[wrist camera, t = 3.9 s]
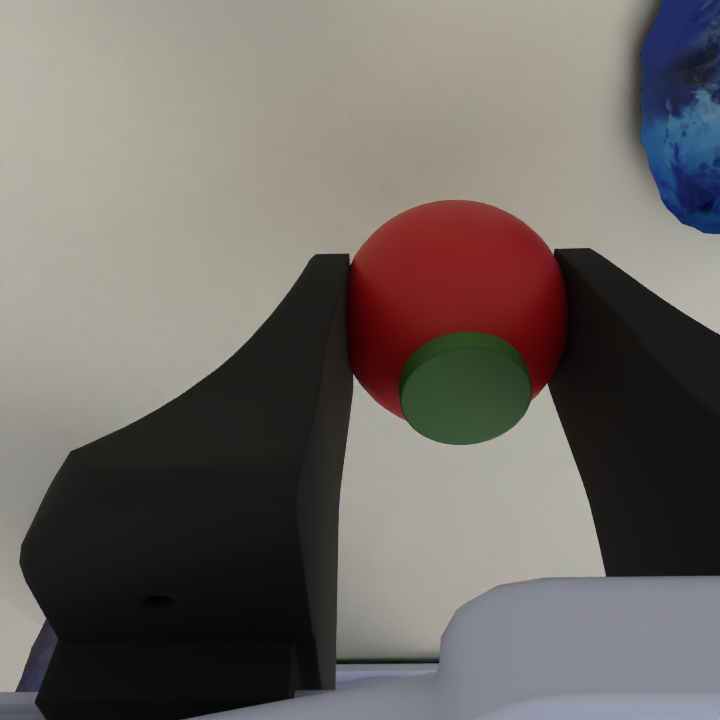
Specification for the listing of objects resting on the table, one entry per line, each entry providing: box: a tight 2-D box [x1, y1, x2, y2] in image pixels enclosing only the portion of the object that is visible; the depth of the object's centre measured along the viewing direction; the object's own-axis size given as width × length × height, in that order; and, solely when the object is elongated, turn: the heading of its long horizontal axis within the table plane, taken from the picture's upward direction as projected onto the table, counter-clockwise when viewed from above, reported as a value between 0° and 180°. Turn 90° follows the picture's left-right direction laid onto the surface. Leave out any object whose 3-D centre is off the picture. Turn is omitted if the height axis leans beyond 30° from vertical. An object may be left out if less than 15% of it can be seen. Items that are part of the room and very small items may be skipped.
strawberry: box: [347, 200, 568, 445], centre depth 12 cm, size 4×4×4 cm
